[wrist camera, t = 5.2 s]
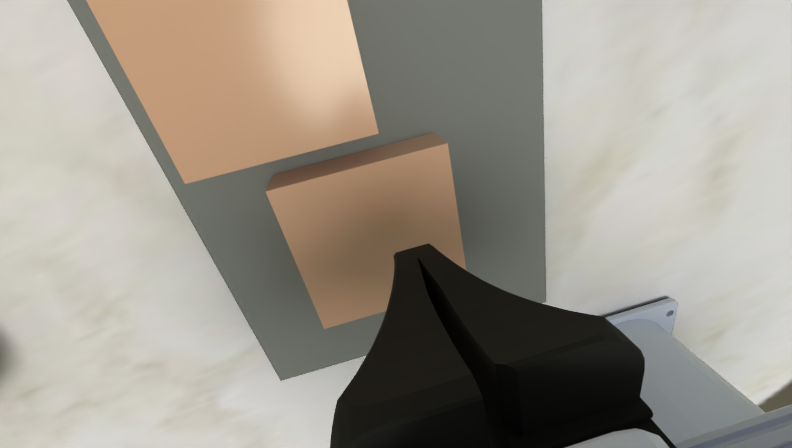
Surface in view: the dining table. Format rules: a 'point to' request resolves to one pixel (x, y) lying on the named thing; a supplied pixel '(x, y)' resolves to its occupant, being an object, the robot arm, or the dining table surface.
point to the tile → (366, 221)
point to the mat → (396, 121)
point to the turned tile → (241, 77)
